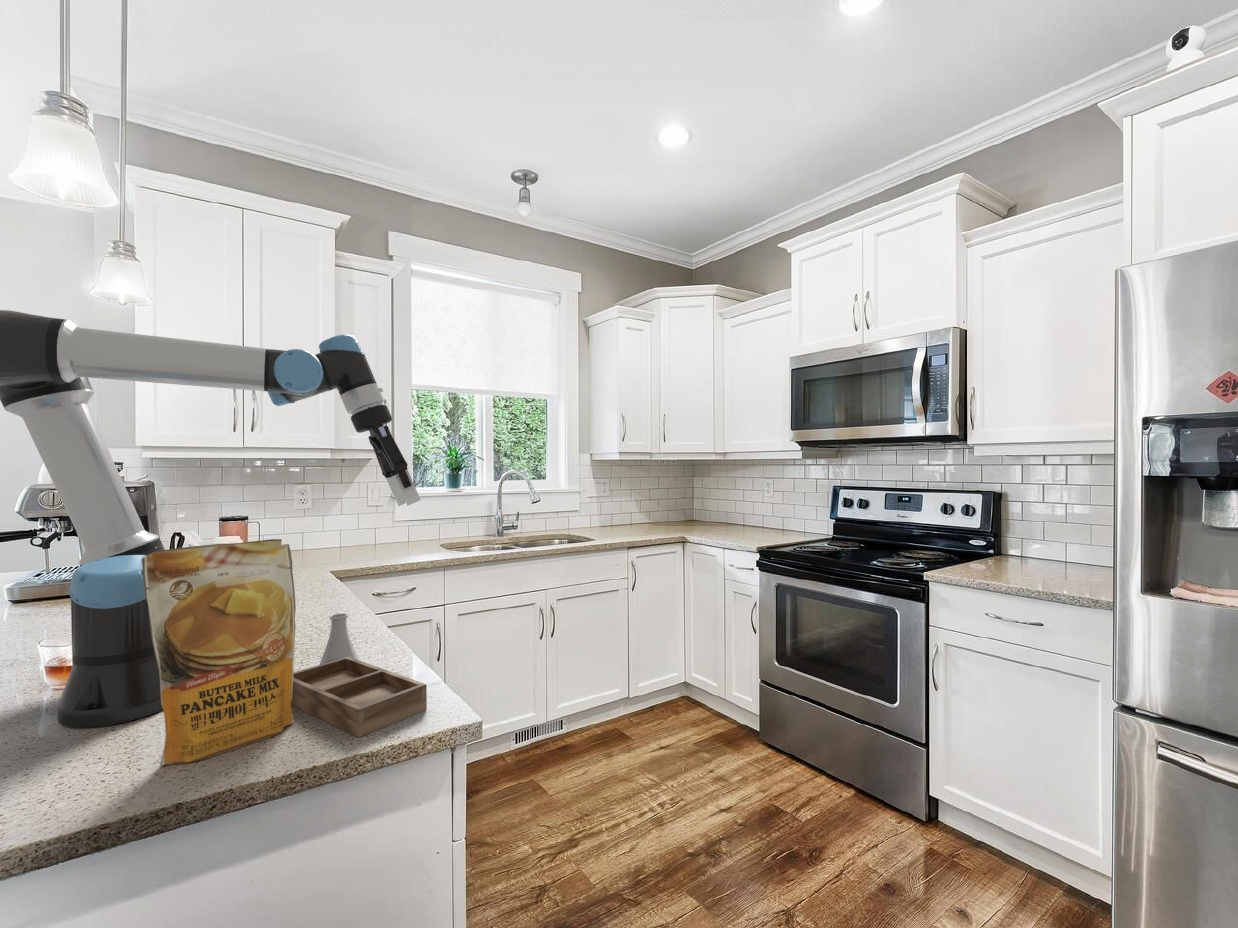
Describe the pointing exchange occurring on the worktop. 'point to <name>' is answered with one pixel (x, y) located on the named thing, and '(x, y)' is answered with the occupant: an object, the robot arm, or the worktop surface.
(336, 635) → the flask
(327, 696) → the wooden tray
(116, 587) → the robot arm
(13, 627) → the worktop surface
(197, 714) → the pancake mix bag
